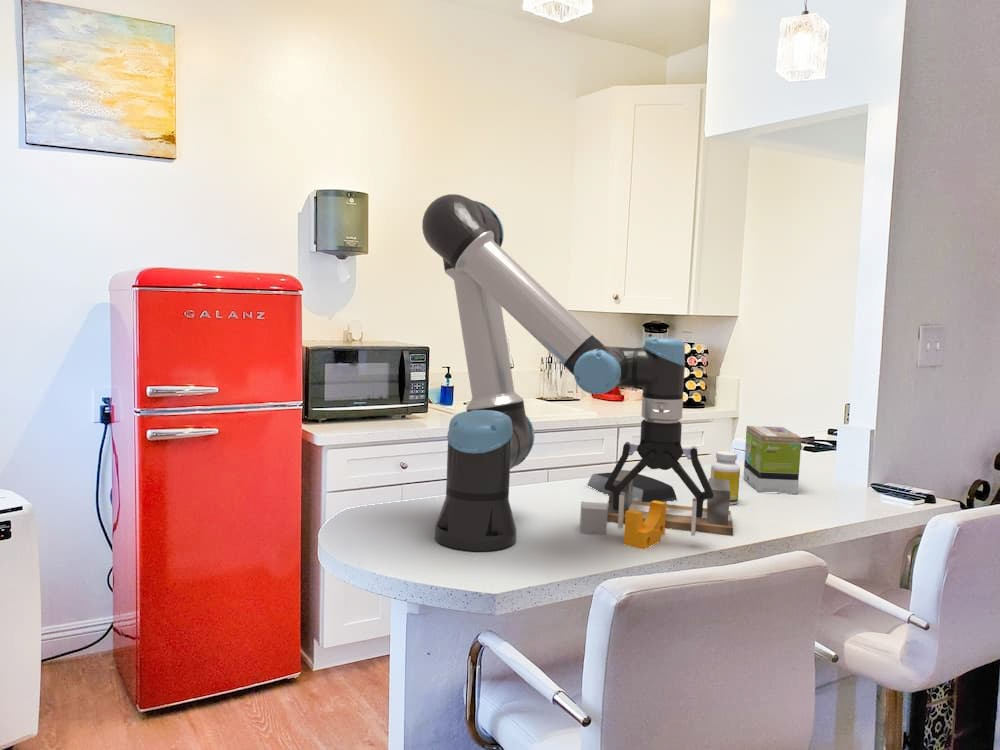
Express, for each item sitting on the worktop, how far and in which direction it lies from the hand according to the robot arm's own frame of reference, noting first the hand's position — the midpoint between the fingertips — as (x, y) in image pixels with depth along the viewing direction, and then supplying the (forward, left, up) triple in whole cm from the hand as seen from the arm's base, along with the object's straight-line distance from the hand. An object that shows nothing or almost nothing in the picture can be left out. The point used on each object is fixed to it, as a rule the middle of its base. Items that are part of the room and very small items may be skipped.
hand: (656, 530), depth 152 cm
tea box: (+26, +60, -2) cm, 65 cm away
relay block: (-12, +3, -2) cm, 13 cm away
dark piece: (-8, +37, -3) cm, 38 cm away
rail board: (+2, +17, -2) cm, 17 cm away
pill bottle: (+14, +38, -2) cm, 40 cm away
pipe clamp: (-1, +1, -3) cm, 3 cm away
